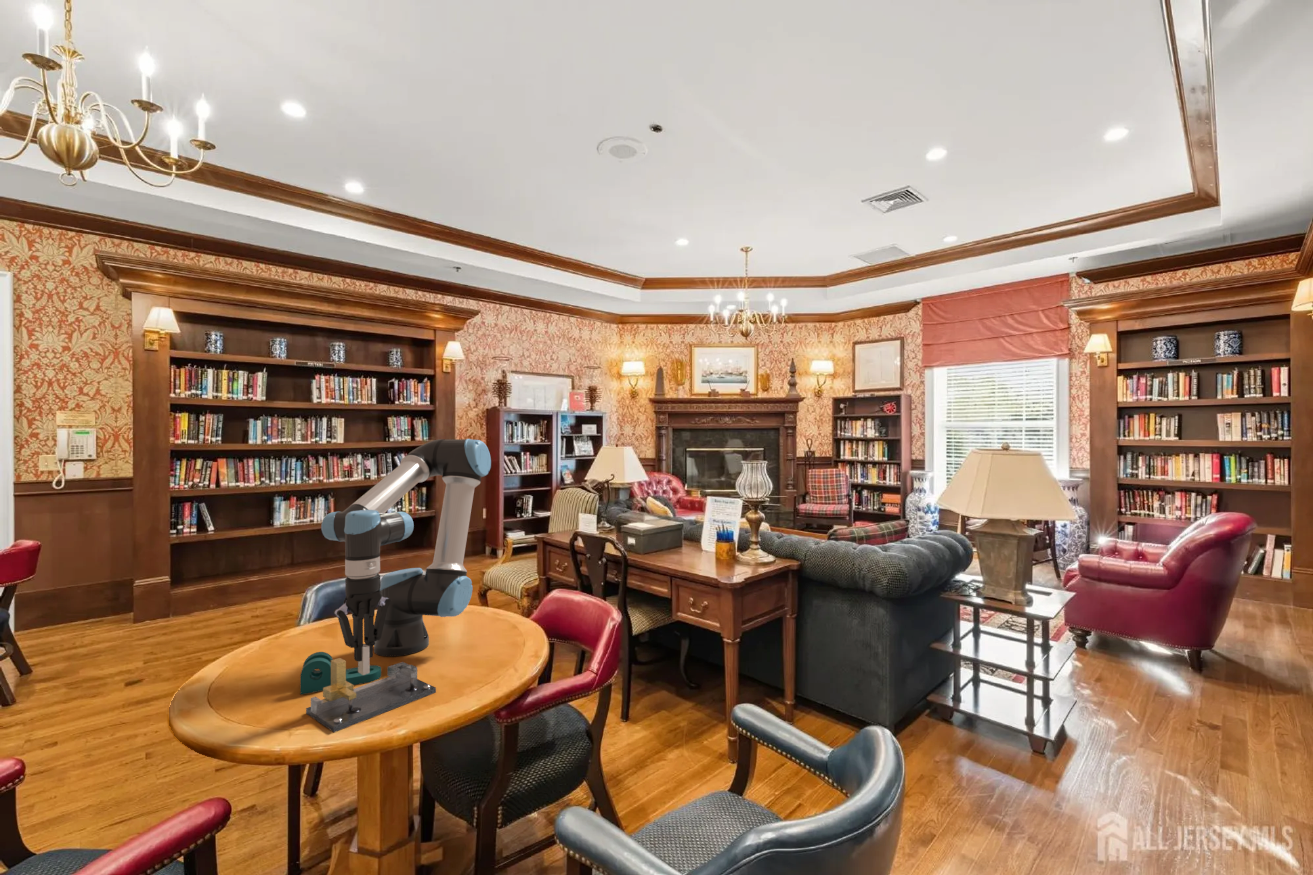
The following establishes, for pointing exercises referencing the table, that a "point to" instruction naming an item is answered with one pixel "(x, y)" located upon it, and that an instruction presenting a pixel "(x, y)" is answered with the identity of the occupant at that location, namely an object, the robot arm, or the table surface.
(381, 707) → the bolt plate
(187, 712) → the table surface
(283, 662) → the table surface
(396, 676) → the grey long bar piece
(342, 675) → the sliding leg
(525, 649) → the table surface
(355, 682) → the bracket
